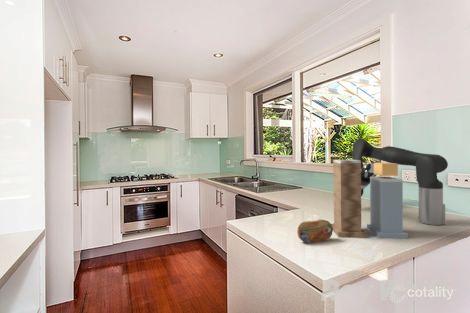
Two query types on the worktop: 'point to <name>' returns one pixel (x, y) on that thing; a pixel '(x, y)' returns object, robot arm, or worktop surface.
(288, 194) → the worktop surface
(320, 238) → the tin
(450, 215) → the worktop surface
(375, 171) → the block
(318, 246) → the worktop surface
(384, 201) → the grey block stand
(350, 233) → the post
